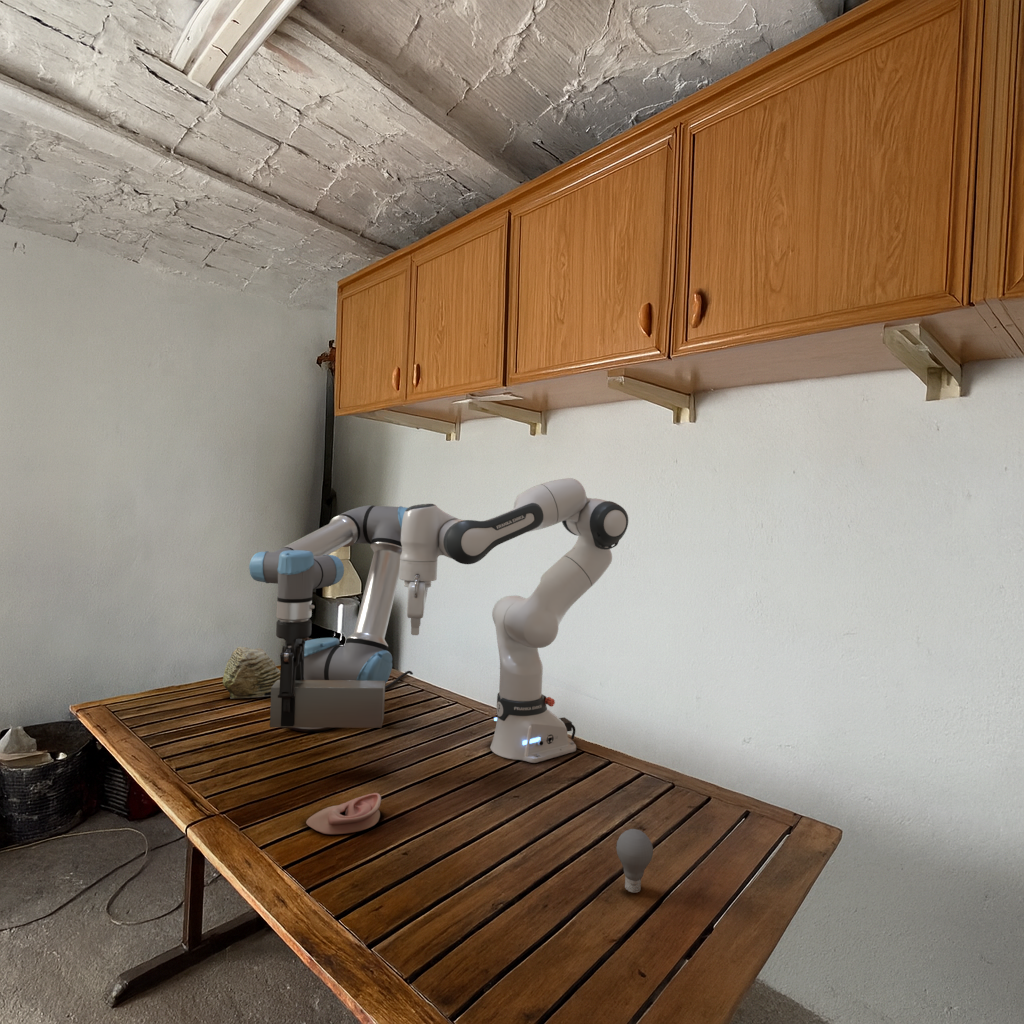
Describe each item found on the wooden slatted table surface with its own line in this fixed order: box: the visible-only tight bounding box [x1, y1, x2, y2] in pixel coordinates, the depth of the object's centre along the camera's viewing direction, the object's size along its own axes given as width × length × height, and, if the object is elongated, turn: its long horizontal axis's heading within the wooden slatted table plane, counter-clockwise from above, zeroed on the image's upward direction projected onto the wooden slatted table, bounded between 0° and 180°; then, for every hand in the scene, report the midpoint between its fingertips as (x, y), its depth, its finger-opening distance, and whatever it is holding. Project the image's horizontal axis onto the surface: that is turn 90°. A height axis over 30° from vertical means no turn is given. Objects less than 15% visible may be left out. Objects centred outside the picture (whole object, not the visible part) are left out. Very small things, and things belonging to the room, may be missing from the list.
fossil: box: [222, 646, 280, 699], centre depth 198 cm, size 9×18×15 cm, turn 132°
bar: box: [269, 680, 386, 729], centre depth 144 cm, size 24×6×9 cm, turn 96°
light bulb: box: [615, 828, 654, 894], centre depth 106 cm, size 6×6×10 cm
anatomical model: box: [305, 792, 382, 835], centre depth 124 cm, size 13×4×12 cm
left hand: (290, 720), depth 144 cm, fingers closed on bar, 6 cm apart
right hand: (415, 630), depth 150 cm, fingers open, 8 cm apart
